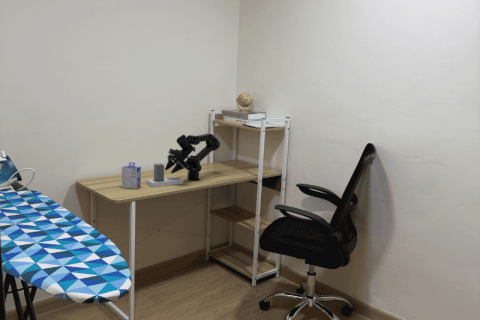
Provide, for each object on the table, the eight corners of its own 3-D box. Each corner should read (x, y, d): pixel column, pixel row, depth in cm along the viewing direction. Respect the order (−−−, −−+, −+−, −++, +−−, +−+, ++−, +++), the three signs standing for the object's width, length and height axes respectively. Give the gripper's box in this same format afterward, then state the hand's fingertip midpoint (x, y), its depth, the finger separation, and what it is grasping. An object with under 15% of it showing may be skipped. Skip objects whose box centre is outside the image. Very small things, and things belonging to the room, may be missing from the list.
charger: (160, 182, 253) (161, 163, 250) (163, 184, 249) (164, 164, 247) (153, 183, 250) (154, 163, 248) (156, 185, 247) (156, 165, 244)
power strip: (176, 180, 261) (176, 175, 260) (183, 183, 254) (183, 178, 253) (146, 183, 250) (146, 178, 249) (152, 187, 243) (152, 182, 242)
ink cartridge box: (141, 187, 242) (141, 162, 239) (137, 189, 237) (137, 164, 234) (125, 185, 244) (125, 161, 241) (121, 187, 238) (120, 163, 236)
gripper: (170, 141, 259) (153, 160, 255) (183, 146, 244) (165, 166, 240) (181, 153, 265) (165, 171, 261) (195, 158, 250) (178, 178, 246)
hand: (168, 171), depth 252 cm, fingers open, 9 cm apart
